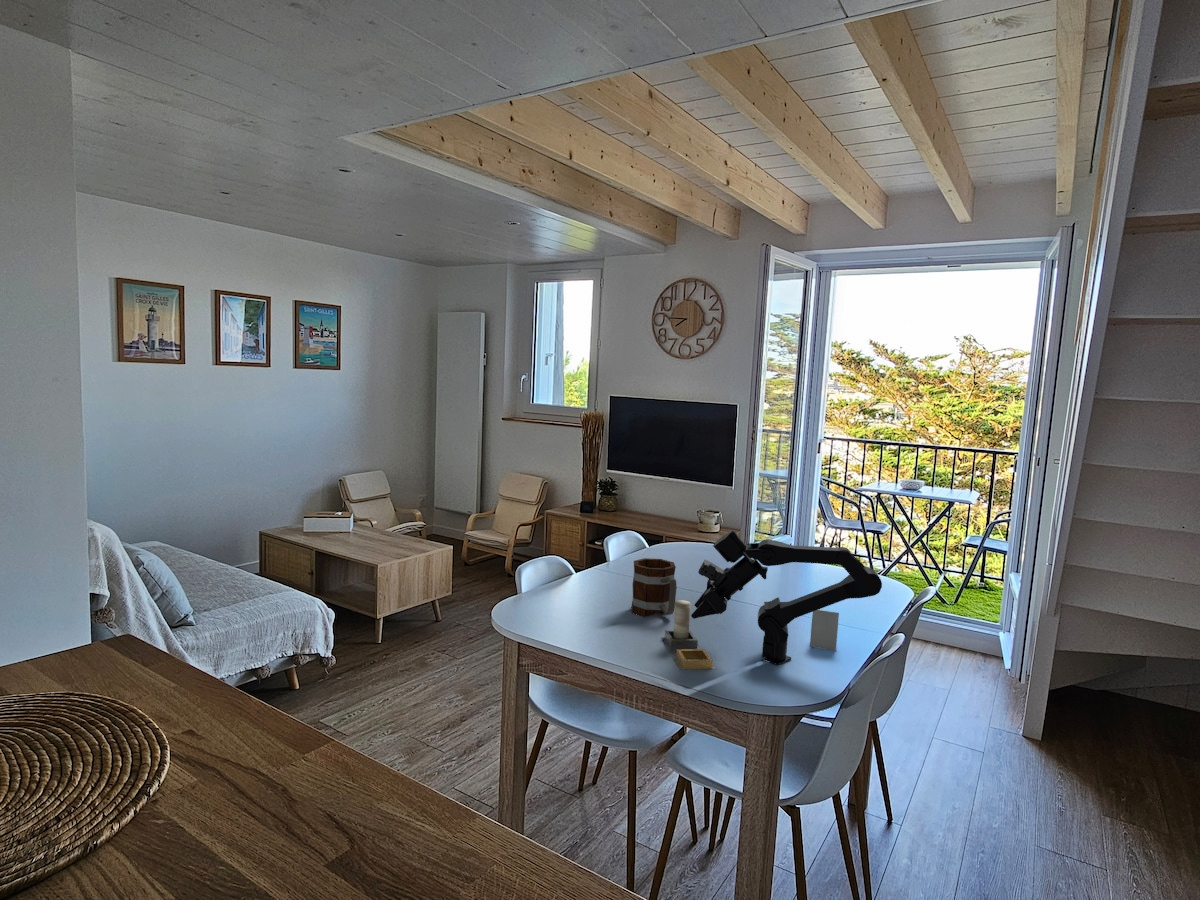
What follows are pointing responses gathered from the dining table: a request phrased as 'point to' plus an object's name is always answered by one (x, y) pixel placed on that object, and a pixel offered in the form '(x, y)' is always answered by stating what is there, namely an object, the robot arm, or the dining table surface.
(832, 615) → the beige rectangular block
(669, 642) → the grey socket board
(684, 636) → the peg
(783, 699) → the dining table surface
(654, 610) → the mug
